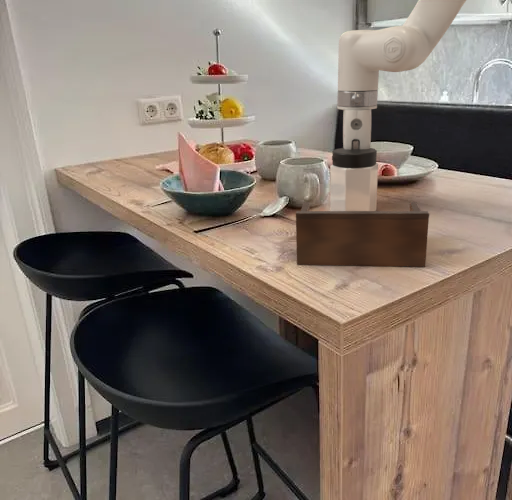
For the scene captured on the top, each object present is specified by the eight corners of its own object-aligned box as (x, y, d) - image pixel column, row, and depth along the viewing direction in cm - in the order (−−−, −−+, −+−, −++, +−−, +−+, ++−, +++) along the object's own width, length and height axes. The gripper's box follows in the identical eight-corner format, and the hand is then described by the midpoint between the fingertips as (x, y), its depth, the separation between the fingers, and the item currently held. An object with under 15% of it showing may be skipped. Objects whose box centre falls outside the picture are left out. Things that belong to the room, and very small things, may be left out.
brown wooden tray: (296, 264, 73) (295, 213, 70) (304, 236, 85) (303, 191, 82) (425, 267, 70) (429, 213, 67) (414, 237, 82) (417, 190, 79)
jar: (341, 204, 103) (342, 146, 99) (380, 208, 99) (382, 147, 95) (324, 216, 95) (324, 153, 91) (366, 220, 91) (368, 155, 87)
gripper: (379, 103, 88) (373, 204, 94) (375, 97, 102) (371, 185, 108) (336, 104, 89) (333, 203, 96) (338, 98, 103) (336, 185, 110)
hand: (353, 193), depth 102 cm, fingers closed
